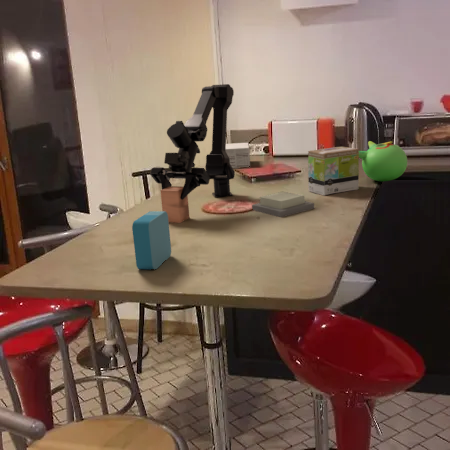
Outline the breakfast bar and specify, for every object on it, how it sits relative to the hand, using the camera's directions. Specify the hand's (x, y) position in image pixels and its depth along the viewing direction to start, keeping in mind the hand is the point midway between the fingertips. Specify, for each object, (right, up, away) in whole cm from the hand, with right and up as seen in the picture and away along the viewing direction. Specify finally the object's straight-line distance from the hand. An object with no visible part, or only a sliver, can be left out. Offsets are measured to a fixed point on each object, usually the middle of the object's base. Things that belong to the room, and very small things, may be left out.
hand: (172, 198), depth 184 cm
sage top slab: (+34, -1, +7) cm, 35 cm away
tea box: (+55, +4, +28) cm, 62 cm away
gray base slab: (+35, -4, +7) cm, 36 cm away
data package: (-1, -18, -37) cm, 41 cm away
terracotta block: (+1, -6, +3) cm, 7 cm away
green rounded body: (+75, +8, +38) cm, 85 cm away
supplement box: (+21, +19, +94) cm, 98 cm away
